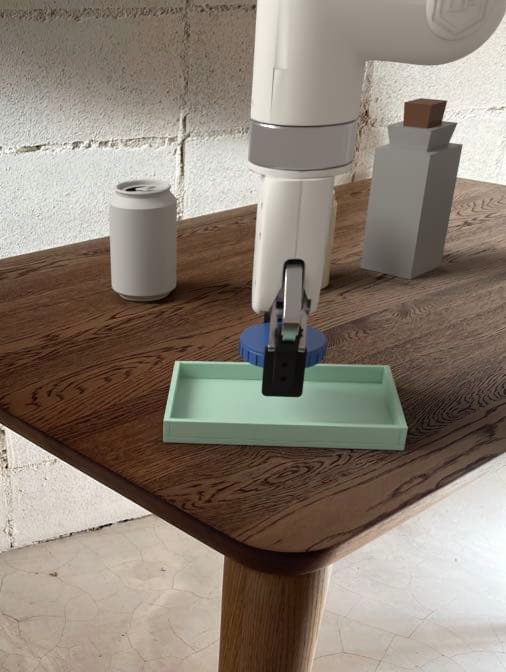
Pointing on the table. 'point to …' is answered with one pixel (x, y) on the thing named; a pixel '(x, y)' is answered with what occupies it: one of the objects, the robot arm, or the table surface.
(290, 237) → the robot arm
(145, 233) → the can
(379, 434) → the tray
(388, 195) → the perfume bottle
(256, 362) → the jar lid
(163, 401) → the table surface
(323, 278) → the jam jar
